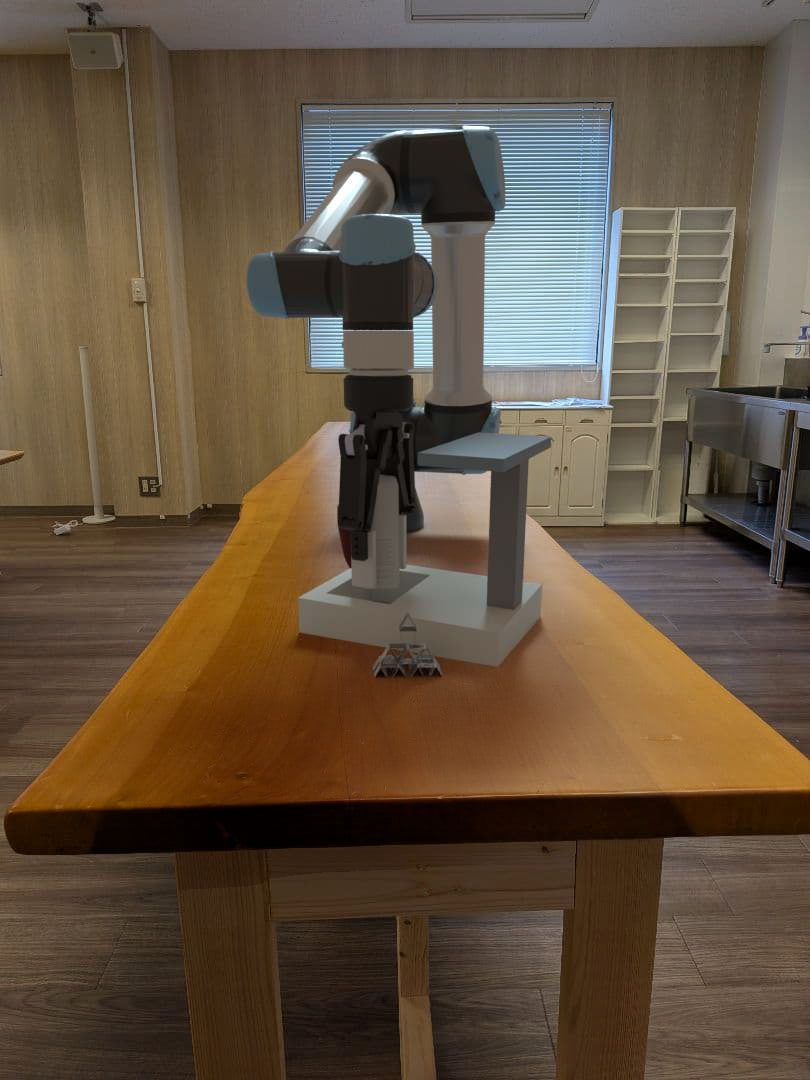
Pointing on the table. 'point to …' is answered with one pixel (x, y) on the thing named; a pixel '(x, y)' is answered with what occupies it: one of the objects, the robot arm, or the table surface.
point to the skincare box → (387, 533)
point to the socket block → (422, 614)
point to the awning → (498, 501)
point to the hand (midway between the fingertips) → (380, 575)
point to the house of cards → (398, 661)
